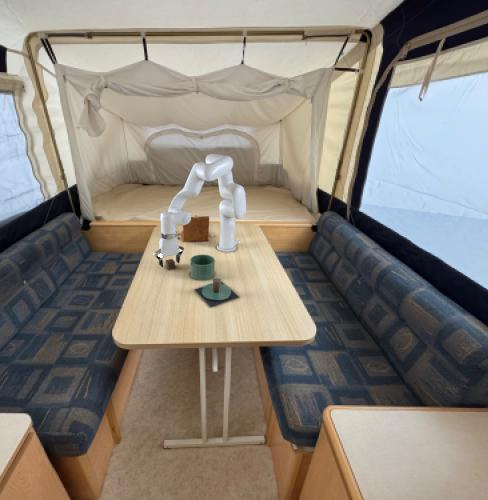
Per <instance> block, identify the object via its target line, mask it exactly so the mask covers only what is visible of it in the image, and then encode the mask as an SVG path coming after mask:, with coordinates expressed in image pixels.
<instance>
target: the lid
mask: <svg viewBox="0 0 488 500" xmlns="http://www.w3.org/2000/svg"><path fill="white" fill-rule="evenodd" d="M221 282H222V279H221V278H219V277H213V278H212V283H209V284H206V285H203V286H202V287H203V289H202V294H203V295H204V296H205V297H206V298H208V299H210V300H224V299H226V298H228V297H229V296H230V295H231V290H232V289H231V288H230V287H229V286H228V285H226V284H225V283H224V284H225V285H224V284H221ZM230 289H231V290H230Z"/></svg>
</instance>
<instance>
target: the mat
mask: <svg viewBox="0 0 488 500" xmlns="http://www.w3.org/2000/svg"><path fill="white" fill-rule="evenodd" d="M221 284H224V285H226V284H225V283H224V282H223V281H221ZM203 287H204V286H201V287H198V288H195V289H194V291H195V292H196V293H197V294H198V295H199V296H200V297H201V299H203V301H205V303H206V304H207V305H208V306H209V307H210V308H212V307H215V306H218V305H220V304H223V303H226V302H229V301H232V300H235V299H239V298H240V296H239V295H237V294H236V293H235V292H234V291H233V290H232V289H231V288H230V290H231V295H230V296H229V297H228V298H226V299H224V300H210V299H208V298H206V297H205V296H204V295H203V294H202V289H203Z"/></svg>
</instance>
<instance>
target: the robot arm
mask: <svg viewBox="0 0 488 500" xmlns="http://www.w3.org/2000/svg"><path fill="white" fill-rule="evenodd" d="M233 167H234V159H233V158H232V157H231V156H230V155H225V154H219V153H209V154H208V155H206V157H205V162H202V161H199V162H195V163H194V164H193V165H192V168H191V170H190V172H189V174H188V178H187V179H186V181H185V183H184V187H183V188H182V189H181V190H180V191H178V193H176V195H175V196H173V199H172V200H171V202H170V204H169V206H168V211H162V212H161V213H160V233H161V234H160V235H161V236H160V237H159V241H158V249H157V250H156V251H154V252H153V256H154V257H155V258H156V259H157V260H158V265H159V266H160V267H161V268H163V267H164V260H163V259H164V258H166V257H171V256H175V263H177V264H180V261H181V256H182V254H184V253H183V252H184V250H185V247H184V246H181V245H179V240H178V239H177V236H178V235H177V234H178V233H179V231H177V229H176V228H177V226H183V225H186V224H188V223H189V222H190V220H191V217H192V216H191V214H190V213H189V212H188V211H187V210H184V209H182V208H183V206H184V204H185V203H186V202H187V201H189V200H191V199H194V198H195V197H198V196H199V195H200V193H201V190H202V188H203V185H204V183H205V181H206V182H213V181H215V180H217V183H218V191H219V196H220V197H221V198H222V199H223V200H221V201H220V203H219V204H218V213H219V241H218V244H216V249H217V250H218V251H220V252H224V253H229V252H234V251H236V250H237V245H240V244H241V240H239V239H238V240H237V239H235V236H236V219H237V220H242V219H243V218H245V216H246V213H247V198H246V191H245V188H244V186H242V185H241V184H238V183H235V182H234V177H233V171H232V169H233Z"/></svg>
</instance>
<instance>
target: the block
mask: <svg viewBox="0 0 488 500" xmlns="http://www.w3.org/2000/svg"><path fill="white" fill-rule="evenodd" d="M165 267H166V268H167V270H168V271H169V270H172V269H176V260H174V259H173V258H169V259H165Z"/></svg>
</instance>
